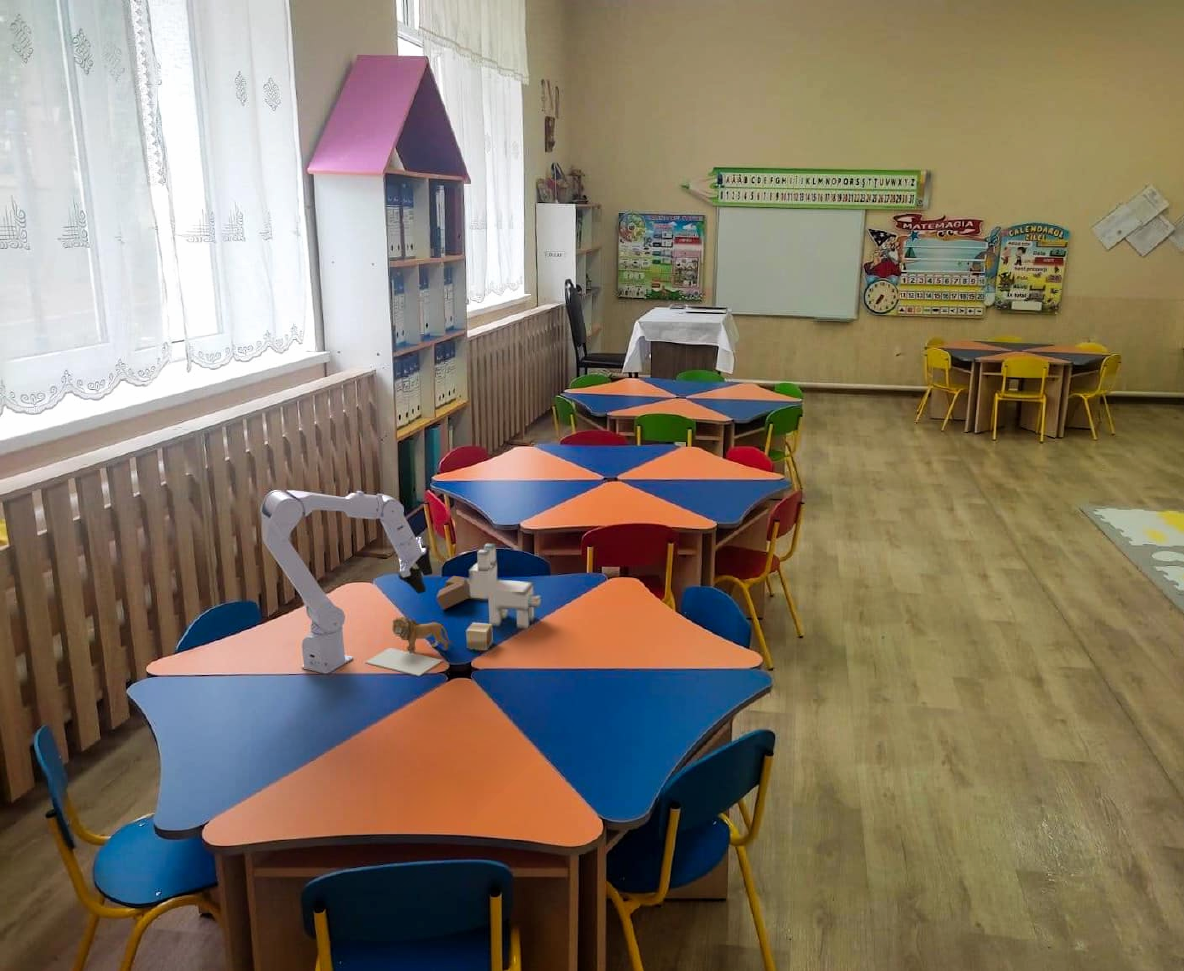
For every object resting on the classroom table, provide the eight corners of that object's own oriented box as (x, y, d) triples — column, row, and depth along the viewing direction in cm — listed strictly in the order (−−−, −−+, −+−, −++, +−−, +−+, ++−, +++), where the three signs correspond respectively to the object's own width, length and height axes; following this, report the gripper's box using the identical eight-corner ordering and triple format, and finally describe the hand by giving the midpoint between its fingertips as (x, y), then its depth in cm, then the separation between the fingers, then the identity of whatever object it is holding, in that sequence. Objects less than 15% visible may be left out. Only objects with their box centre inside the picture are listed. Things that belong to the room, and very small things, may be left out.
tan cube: (486, 651, 238) (486, 632, 237) (467, 649, 239) (466, 630, 238) (493, 642, 243) (492, 624, 242) (473, 641, 244) (472, 622, 243)
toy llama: (535, 629, 250) (533, 556, 245) (471, 624, 254) (467, 551, 249) (543, 618, 257) (541, 546, 252) (481, 613, 261) (477, 542, 256)
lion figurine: (394, 656, 234) (392, 621, 233) (392, 649, 239) (390, 614, 237) (455, 649, 238) (454, 614, 237) (451, 642, 243) (450, 608, 242)
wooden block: (492, 600, 279) (478, 616, 261) (448, 593, 280) (430, 608, 262) (496, 575, 278) (481, 589, 260) (451, 568, 279) (433, 581, 261)
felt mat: (419, 676, 225) (419, 675, 225) (365, 663, 232) (365, 662, 232) (442, 661, 233) (442, 660, 233) (389, 648, 240) (389, 647, 240)
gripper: (410, 551, 230) (433, 596, 236) (424, 519, 243) (445, 562, 249) (384, 558, 232) (407, 603, 238) (399, 526, 244) (420, 569, 250)
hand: (425, 583), depth 243 cm, fingers open, 7 cm apart
